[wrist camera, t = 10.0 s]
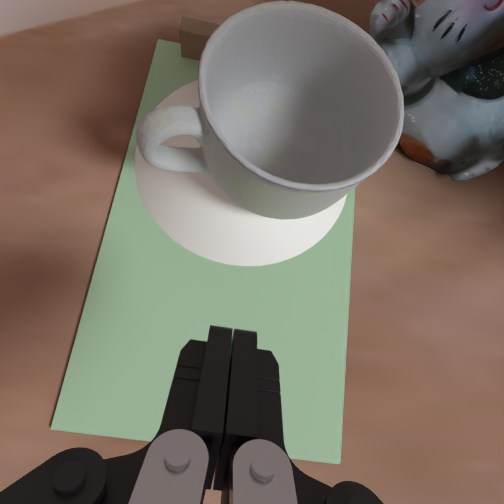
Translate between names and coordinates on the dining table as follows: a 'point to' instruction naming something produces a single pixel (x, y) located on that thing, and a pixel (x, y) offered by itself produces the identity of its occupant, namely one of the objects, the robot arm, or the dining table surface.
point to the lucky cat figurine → (447, 80)
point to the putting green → (207, 288)
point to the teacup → (284, 111)
